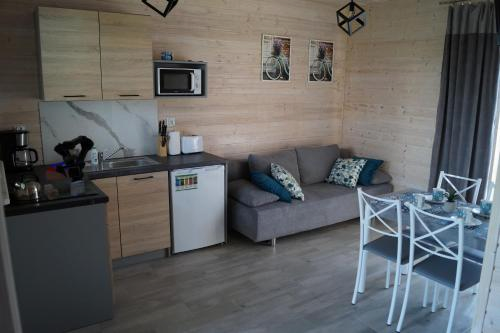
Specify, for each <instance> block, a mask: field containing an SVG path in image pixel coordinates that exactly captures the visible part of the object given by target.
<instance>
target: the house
mask: <svg viewBox="0 0 500 333" xmlns="http://www.w3.org/2000/svg"><path fill="white" fill-rule="evenodd" d="M56 164H62V165H65V164H64V163H63V161H61V162H57V163H53V164H50V166H47V168H45V170H44V172H45V173H44V174H45V180H49V181H52V180H53V181H60V180H63V179H67V178H68V177H69V174H68V170H69V168H64V170H65V173H66V175H67V178H66V177H65V176H63V175H62V174H61V173H58V172H55V165H56ZM69 178H70V177H69Z"/></svg>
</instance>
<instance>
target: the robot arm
mask: <svg viewBox="0 0 500 333" xmlns="http://www.w3.org/2000/svg"><path fill="white" fill-rule="evenodd" d="M78 145H80V150H79V152H80V153H79V155H78V156H77V154H74V155H71V153H70V151H69V150H73V149H76V146H78ZM94 146H95V142H94V141H93V140H92V139H91V138H89V137H87V135H78V136H76V137H74V138H73V139H71V140H64V141H62V143H61V142H58V143H57V144H56V145H55V146H54V147H53V151H54V152H55V153H56V154H58V155H59V156H61V157H62V162H63V163H64V164H65V165H62V164H56V163H55V164H56V165H55V172H58V173H61V174H62V175H63V176H65V177H66V178H65V179H67V178H68V177H67V175H66V173H65V170H64V168H69V170H68V174H69V178H71V180H70V183H72V182H76V181H83V178H84V177H85V173H84V171H83V169H85V167H86V162H85V159H86V158H87V155H88V153H89V152H90V151H91V150H92V149H93V148H94ZM75 160H76V161H75Z"/></svg>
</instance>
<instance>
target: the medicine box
mask: <svg viewBox="0 0 500 333" xmlns="http://www.w3.org/2000/svg"><path fill="white" fill-rule="evenodd" d="M69 185H70V187H69V188H70V195H71V196H73V197H78V196H81V195H84V194H85V193H86V190H85V181H84V180H82V181H76V182H72V183H71V182H70V183H69Z"/></svg>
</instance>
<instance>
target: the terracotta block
mask: <svg viewBox="0 0 500 333" xmlns="http://www.w3.org/2000/svg"><path fill="white" fill-rule="evenodd" d="M48 186H53V185H52V184H51V183H49V184H44V186H43V187H44V189H45V187H48ZM44 194H45V195H46V191H45V190H44Z"/></svg>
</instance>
